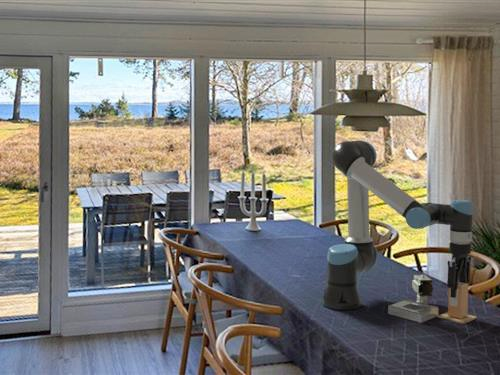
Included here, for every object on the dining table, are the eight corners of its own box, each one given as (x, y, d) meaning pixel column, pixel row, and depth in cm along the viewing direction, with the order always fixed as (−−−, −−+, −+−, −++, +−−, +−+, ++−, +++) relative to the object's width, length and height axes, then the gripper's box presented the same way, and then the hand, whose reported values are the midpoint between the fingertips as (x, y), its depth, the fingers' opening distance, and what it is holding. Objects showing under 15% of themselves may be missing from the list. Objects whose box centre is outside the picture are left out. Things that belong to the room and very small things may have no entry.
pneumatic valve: (422, 299, 236) (423, 271, 235) (432, 308, 224) (433, 278, 223) (409, 299, 236) (410, 271, 234) (418, 308, 224) (419, 278, 223)
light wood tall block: (448, 315, 213) (448, 283, 212) (454, 312, 217) (455, 280, 216) (460, 318, 210) (461, 285, 208) (467, 315, 213) (468, 283, 212)
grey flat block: (388, 313, 218) (388, 305, 217) (405, 307, 226) (405, 298, 226) (421, 322, 208) (421, 314, 207) (438, 315, 216) (438, 307, 215)
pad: (437, 317, 214) (438, 315, 214) (451, 311, 220) (451, 310, 220) (463, 324, 206) (463, 322, 206) (476, 318, 213) (476, 316, 213)
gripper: (458, 247, 202) (455, 311, 204) (481, 240, 214) (478, 301, 216) (438, 244, 207) (435, 306, 209) (462, 237, 219) (459, 297, 222)
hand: (457, 304), depth 213 cm, fingers closed on light wood tall block, 5 cm apart
